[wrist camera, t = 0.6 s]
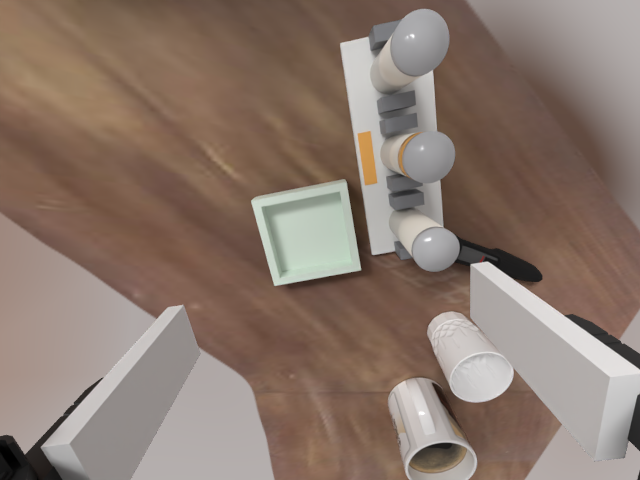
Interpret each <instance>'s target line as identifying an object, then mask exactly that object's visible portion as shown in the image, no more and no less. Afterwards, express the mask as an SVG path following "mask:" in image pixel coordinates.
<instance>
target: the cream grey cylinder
mask: <svg viewBox="0 0 640 480" xmlns="http://www.w3.org/2000/svg"><path fill="white" fill-rule="evenodd" d="M448 46H449V31H448V27H447V24H446V22H445V21H444V19H443V18H442V17H441V16H440V15H439V14H438V13H436V12H435V11H432V10H429V9H419V10H415V11H413V12H411V13H409V14H408V15H406V16H405V17H404V18H403V19H402V20H401V22H400V23H399V24H398V26H397V27H396V29H395V31H394V33H393V34H392V36H391V37H390V38H389V40H388V41H387V43H386V44H385V46H384V47H383V48H382V50H381V51H380V53H379V54H378V56H377V57H376V59H375V60H374V62H373V63H372V66H371V69H370V79H371V82H372V85H373V86H374V88H375V89H376V90H377V91H379V92H381V93H383V94H392V93H395V92H397V91H399V90H400V89H402V88H403V87H405V86H407V85H408V84H410V83H411V82H413V81H415V80H416V79H418V78H419V77H421V76H423V75H425V74H427V73H429V72H430V71H432V70H433V69H435V68H436V67H437V66H438V65H439V64H440V63H441V62H442V60H443V59H444V57H445V55H446V53H447V50H448Z"/></svg>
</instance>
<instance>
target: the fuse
mask: <svg viewBox="0 0 640 480" xmlns="http://www.w3.org/2000/svg"><path fill="white" fill-rule="evenodd" d="M389 227H390V229H391V231H392V232H393V234H394V235H395V236H396V237H397V238H398V240H399V241H400V242H401V243H402V245H403V246H404V247H405V248H406V250H407V251H408V252H409V253H410V255H411V256H412V257H413V259H414V260H415V262H416V263H417V264H418V265H419V266H420V267H421V268H422V269H424V270H427V271H431V272H436V271H441V270H444V269H446V268H448V267H449V266H451V265H452V264H453V263H454V262H455V260H456V259H457V257H458V254H459V250H460V245H459V241H458V239H457V237H456V236H455V235H454V234H453V233H452V232H450V231H449V230H447V229H445V228H444V227H442V226H441V225H439V224H438V223H437V222H435V221H434V220H432V219H431V218H429V217H428V216H427V215H425V214H424V213H422V212H421V211H419V210H418V209H416V208H415V207H410V208H404V209H399V210H394V211H393V212H392V214H391V215H390V218H389Z"/></svg>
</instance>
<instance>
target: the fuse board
mask: <svg viewBox="0 0 640 480" xmlns="http://www.w3.org/2000/svg"><path fill="white" fill-rule="evenodd" d="M400 22H401V20H397V21H393V22H388V23H384V24H380V25H375V26H373V28H372V30H371V32H370V34H369V37H366V38H361V39H357V40H352V41H348V42H343V43H340V49H341V56H342V63H343V69H344V76H345V82H346V89H347V96H348V102H349V109H350V115H351V122H352V129H353V135H354V142H355V148H356V155H357V162H358V168H359V175H360V181H361V188H362V195H363V201H364V208H365V214H366V221H367V227H368V234H369V241H370V247H371V253H372V255H377V254H382V253H388V252H393V251H395V252H396V254H397V255H398V256H399V258H400V259H401V260H404V259H410V258H413V257H412V256H411V255H410V253H409V252H408V251H407V250H406V248H405V247H404V246H403V245H402V243H401V242H400V241H399V240H398V238H397V237H396V236H395V235H394V234H393V232H392V231H391V229H390V227H389V218H390V215H391V214H392V212H393V211H394V210H399V209H404V208H410V207H415V208H416V209H418V210H419V211H421V212H422V213H424V214H425V215H427V216H428V217H429V218H431V219H432V220H434V221H435V222H437V223H438V224H439V225H441V226H442V227H443V213H442V198H441V183H440V180H439V181H436V182H433V183H420V182H418V181H415V180H413V179H410V178H408V177H407V176H404V175H402V174H400V173H397V172H395V171H392V170H390V169H388V168H386V167H385V166H384V165H383V163H382V161H381V158H380V150H381V147H382V145H383V143H384V142H385V140H386V139H388V138H389V137H390V136H393V135H396V134H407V133H418V132H425V131H437V122H436V107H435V92H434V77H433V70H432V71H430V72H429V73H427V74H425V75H423V76H421V77H419V78H418V79H416V80H415V81H413V82H411V83H410V84H408V85H407V86H405V87H403V88H402V89H400V90H399V91H397V92H395V93H392V94H383V93H381V92H379V91H377V90H376V89H375V88H374V86H373V85H372V82H371V79H370V69H371V66H372V63H373V62H374V60H375V59H376V57H377V56H378V54H379V53H380V51H381V50H382V48H383V47H384V46H385V44H386V43H387V41H388V40H389V38H390V37H391V36H392V34H393V33H394V31H395V29H396V27H397V26H398V24H399V23H400Z"/></svg>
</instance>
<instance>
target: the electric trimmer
mask: <svg viewBox="0 0 640 480" xmlns="http://www.w3.org/2000/svg"><path fill="white" fill-rule="evenodd" d="M454 235H455V234H454ZM455 236H456V235H455ZM456 237H457V239H458V241H459V245H460V250H459V254H458V257H457V259H456V260H455V262H456V263H460V264H464V265H467V266H471V264H475V263H482V262H489V263H491V264H492V265H494V266H495V267H496V268H498V269H499V270H501V271H502V272H503V273H505V274H506V275H508V276H509V277H510V278H514V279H519V280H523V281H531V282H539V281H541V280H542V274H541V273H540V271H539V270H538V269H537V268H536V267H535V266H533V265H532V264H530V263H528V262H526V261H524V260H522V259H519V258H517V257H515V256H513V255H511V254H509V253H507V252H505V251H502V250H500V249H497V248H496V249H488V248H485V247H482V246H479V245H477V244H474V243H471V242H468V241H466V240H463V239H461V238H459V237H458V236H456Z"/></svg>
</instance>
